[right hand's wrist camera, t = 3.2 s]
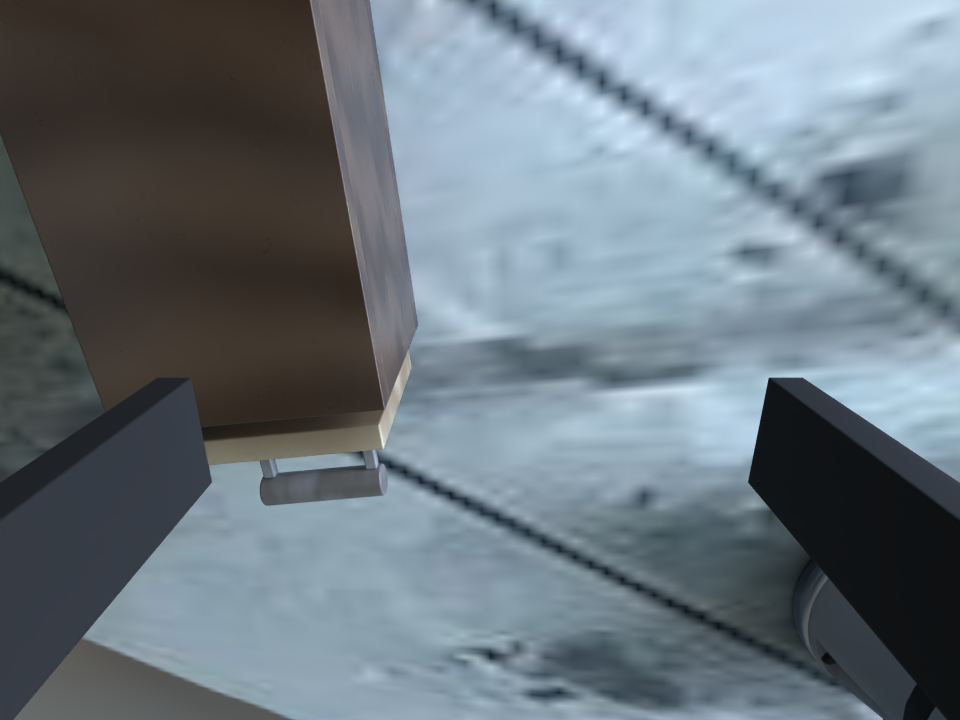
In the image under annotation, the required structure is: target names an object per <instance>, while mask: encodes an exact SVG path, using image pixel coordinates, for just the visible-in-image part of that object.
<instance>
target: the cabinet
mask: <svg viewBox="0 0 960 720" xmlns="http://www.w3.org/2000/svg"><path fill="white" fill-rule="evenodd" d="M0 134H1V136H2V139H3V142H4V144H5V147H6V150H7V152H8V155H9V157H10V160H11V163H12V165H13V168H14V171H15V173H16V176H17V179H18V181H19V184H20V187H21V189H22V192H23V195H24V197H25V200H26V203H27V205H28V208H29V211H30V213H31V216H32V219H33V221H34V224H35V227H36V229H37V232H38V235H39V237H40V240H41V242H42V245H43V248H44V250H45V253H46V256H47V258H48V261H49V264H50V266H51V269H52V272H53V274H54V277H55V280H56V282H57V285H58V288H59V290H60V293H61V296H62V298H63V301H64V304H65V306H66V309H67V312H68V314H69V317H70V319H71V322H72V325H73V327H74V330H75V333H76V335H77V338H78V341H79V343H80V346H81V349H82V351H83V354H84V357H85V359H86V362H87V365H88V367H89V370H90V373H91V375H92V378H93V381H94V383H95V386H96V389H97V391H98V394H99V396H100V399H101V402H102V404H103V407H104V410H105V412H107V411H109V410H110V409H111V408H113V407H114V406H116V405H117V404H119V403H120V402H122V401H123V400H125V399H126V398H128V397H129V396H131V395H132V394H134V393H135V392H137V391H138V390H140V389H141V388H143V387H144V386H146V385H147V384H149V383H150V382H152V381H153V380H155V379H156V378H191V380H192V385H193V390H194V395H195V400H196V405H197V410H198V415H199V420H200V425H201V427H208V426H219V425H229V424H240V423H251V422H261V421H272V420H282V419H293V418H303V417H314V416H325V415H335V414H346V413H356V412H367V411H378V410H385V408H386V405H387V403H388V400H389V397H390V394H391V392H392V389H393V387H394V384H395V382H396V379H397V377H398V374H399V372H400V369H401V366H402V364H403V361H404V359H405V356H406V354H407V351H408V349H409V346H410V344H411V341H412V338H413V336H414V333H415V331H416V329H417V326H418V322H417V316H416V309H415V302H414V295H413V289H412V282H411V275H410V269H409V262H408V255H407V249H406V242H405V235H404V229H403V222H402V215H401V209H400V202H399V195H398V188H397V182H396V175H395V168H394V162H393V155H392V148H391V142H390V135H389V128H388V122H387V115H386V108H385V101H384V95H383V88H382V81H381V75H380V68H379V61H378V55H377V48H376V41H375V35H374V28H373V21H372V14H371V8H370V1H369V0H0Z"/></svg>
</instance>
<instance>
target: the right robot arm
mask: <svg viewBox="0 0 960 720" xmlns="http://www.w3.org/2000/svg"><path fill="white" fill-rule="evenodd" d="M211 483H212V480H211V475H210V470H209V465H208V460H207V455H206V450H205V445H204V440H203V435H202V430H201V425H200V420H199V415H198V410H197V405H196V400H195V395H194V390H193V385H192V380H191V378H156V379H155V380H153V381H152V382H150V383H149V384H147V385H146V386H144V387H143V388H141V389H140V390H138V391H137V392H135V393H134V394H132V395H131V396H129V397H128V398H126V399H125V400H123V401H122V402H120V403H119V404H117V405H116V406H114V407H113V408H111V409H110V410H109V411H107V412H106V413H104V414H103V415H101V416H100V417H98V418H97V419H95V420H94V421H92V422H91V423H89V424H88V425H86V426H85V427H83V428H82V429H80V430H79V431H77V432H76V433H74V434H73V435H71V436H70V437H68V438H67V439H65V440H64V441H62V442H61V443H59V444H58V445H56V446H55V447H53V448H52V449H50V450H49V451H47V452H46V453H44V454H43V455H41V456H40V457H38V458H37V459H35V460H34V461H32V462H31V463H29V464H28V465H26V466H25V467H23V468H22V469H20V470H19V471H17V472H16V473H14V474H13V475H11V476H10V477H8V478H7V479H5V480H4V481H2V482H1V483H0V720H13V719H14V718H15V717H16V716H17V715H18V713H19V712H20V711H21V710H22V709H23V707H24V706H25V705H26V704H27V703H28V701H29V700H30V699H31V698H32V697H33V695H34V694H35V693H36V692H37V691H38V689H39V688H40V687H41V686H42V685H43V683H44V682H45V681H46V680H47V679H48V677H49V676H50V675H51V674H52V673H53V671H54V670H55V669H56V668H57V667H58V665H59V664H60V663H61V662H62V661H63V660H64V658H65V657H66V656H67V655H68V654H69V652H70V651H71V650H72V649H73V648H74V646H75V645H76V644H77V643H78V642H79V640H80V639H81V638H82V637H83V636H84V634H85V633H86V632H87V631H88V630H89V628H90V627H91V626H92V625H93V624H94V623H95V621H96V620H97V619H98V618H99V617H100V615H101V614H102V613H103V612H104V611H105V609H106V608H107V607H108V606H109V605H110V603H111V602H112V601H113V600H114V599H115V597H116V596H117V595H118V594H119V593H120V591H121V590H122V589H123V588H124V587H125V585H126V584H127V583H128V582H129V581H130V579H131V578H132V577H133V576H134V575H135V574H136V572H137V571H138V570H139V569H140V568H141V566H142V565H143V564H144V563H145V562H146V560H147V559H148V558H149V557H150V556H151V554H152V553H153V552H154V551H155V550H156V548H157V547H158V546H159V545H160V544H161V542H162V541H163V540H164V539H165V538H166V536H167V535H168V534H169V533H170V532H171V531H172V529H173V528H174V527H175V526H176V525H177V523H178V522H179V521H180V520H181V519H182V517H183V516H184V515H185V514H186V513H187V511H188V510H189V509H190V508H191V507H192V505H193V504H194V503H195V502H196V501H197V499H198V498H199V497H200V496H201V495H202V493H203V492H204V491H205V490H206V489H207V487H208V486H209V485H210V484H211ZM748 483H749V484H750V485H751V486H752V487H753V489H754V490H755V491H756V492H757V493H758V495H759V496H760V497H761V498H762V499H763V501H764V502H765V503H766V504H767V505H768V507H769V508H770V509H771V510H772V511H773V513H774V514H775V515H776V516H777V517H778V519H779V520H780V521H781V522H782V523H783V525H784V526H785V527H786V528H787V529H788V531H789V532H790V533H791V534H792V535H793V536H794V538H795V539H796V540H797V541H798V542H799V544H800V545H801V546H802V547H803V548H804V550H805V551H806V552H807V553H808V554H809V556H810V557H811V558H812V560H811V562H810V563H809V564H808V566H807V567H806V569H805V571H804V572H803V574H802V576H801V578H800V580H799V583H798V585H797V588H796V591H795V595H794V601H793V617H794V623H795V626H796V629H797V631H798V634H799V636H800V637H801V639H802V641H803V642H804V644H805V645H806V647H807V648H808V650H809V651H810V653H811V654H812V656H813V657H814V659H815V660H816V661H817V663H818V664H819V665H820V666H821V668H822V669H823V670H824V671H825V672H827V673H828V674H829V675H830V676H832V677H833V678H834V679H836V680H837V681H838V682H839V683H840V684H842V685H843V686H844V687H845V688H846V689H848V690H849V691H850V692H851V693H853V694H854V695H855V696H856V697H857V698H859V699H860V700H861V701H862V702H863V703H865V704H866V705H867V706H868V707H870V708H871V709H872V710H873V711H874V712H876V713H877V714H878V715H879V716H881V717H882V718H883V720H960V483H959V482H958V481H956V480H955V479H953V478H952V477H950V476H949V475H947V474H946V473H944V472H943V471H941V470H940V469H938V468H937V467H935V466H934V465H932V464H931V463H929V462H928V461H926V460H925V459H923V458H922V457H920V456H919V455H917V454H916V453H914V452H913V451H911V450H910V449H908V448H907V447H905V446H904V445H902V444H901V443H899V442H898V441H896V440H895V439H893V438H892V437H890V436H889V435H887V434H886V433H884V432H883V431H881V430H880V429H878V428H877V427H875V426H874V425H872V424H871V423H869V422H868V421H866V420H865V419H863V418H862V417H860V416H859V415H857V414H856V413H854V412H853V411H851V410H850V409H849V408H847V407H846V406H844V405H843V404H841V403H840V402H838V401H837V400H835V399H834V398H832V397H831V396H829V395H828V394H826V393H825V392H823V391H822V390H820V389H819V388H817V387H816V386H814V385H813V384H811V383H810V382H808V381H807V380H805V379H804V378H769V380H768V385H767V390H766V395H765V400H764V405H763V410H762V415H761V420H760V425H759V430H758V435H757V440H756V445H755V450H754V455H753V460H752V465H751V470H750V475H749V480H748Z"/></svg>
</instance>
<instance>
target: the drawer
mask: <svg viewBox="0 0 960 720" xmlns="http://www.w3.org/2000/svg"><path fill="white" fill-rule="evenodd" d="M410 370H411V361H410V355H409V350H408V351H407V354H406V356H405V359H404V361H403V364H402V366H401V369H400V372H399V374H398V377H397V379H396V382H395V384H394V387H393V389H392V392H391V394H390V397H389V400H388V403H387V405H386V408H385V410H378V411H367V412H356V413H346V414H335V415H325V416H314V417H303V418H293V419H282V420H272V421H261V422H251V423H240V424H229V425H219V426H208V427H201V430H202V435H203V440H204V445H205V450H206V455H207V460H208V465H215V464H226V463H237V462H248V461H259V460H260V464H261V468H262V471H263V475H264V476H263V478H262V480H261V484H260V496H261V500H262V502H263V504H264V505H266V506H270V505H281V504H293V503H304V502H315V501H327V500H338V499H349V498H360V497H372V496H383V495H385V494H386V491H387V472H386V468H385V466H384V464H378V458H377V453H376V450H379V449H384V446H385V443H386V440H387V438H388V435H389V432H390V429H391V426H392V423H393V420H394V417H395V414H396V411H397V408H398V405H399V403H400V400H401V397H402V394H403V391H404V388H405V385H406V382H407V379H408V376H409V373H410ZM357 451H363V456H364V461H365V465H360V466H349V467H338V468H327V469H316V470H305V471H294V472H283V473H278V470H277V466H276V462H275V459H281V458H292V457H302V456H313V455H324V454H335V453H346V452H357Z"/></svg>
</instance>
